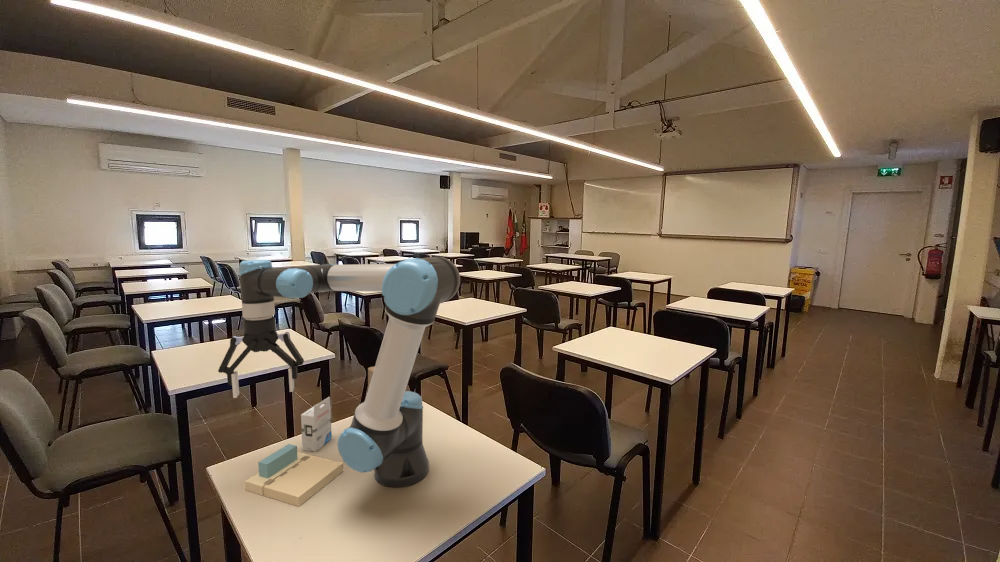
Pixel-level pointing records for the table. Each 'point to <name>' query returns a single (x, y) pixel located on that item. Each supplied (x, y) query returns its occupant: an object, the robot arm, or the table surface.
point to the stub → (274, 467)
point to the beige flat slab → (303, 480)
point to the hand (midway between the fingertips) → (264, 393)
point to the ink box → (316, 426)
